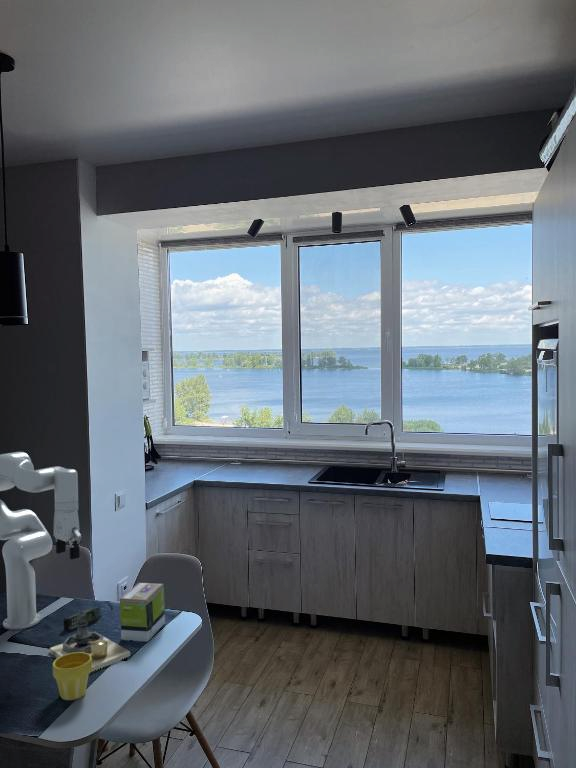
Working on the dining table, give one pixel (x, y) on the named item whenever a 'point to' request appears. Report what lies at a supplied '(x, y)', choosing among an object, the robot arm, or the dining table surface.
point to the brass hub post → (99, 649)
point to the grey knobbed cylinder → (82, 631)
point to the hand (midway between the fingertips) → (67, 555)
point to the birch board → (113, 656)
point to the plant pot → (72, 674)
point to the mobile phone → (72, 619)
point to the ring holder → (80, 649)
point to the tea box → (142, 611)
